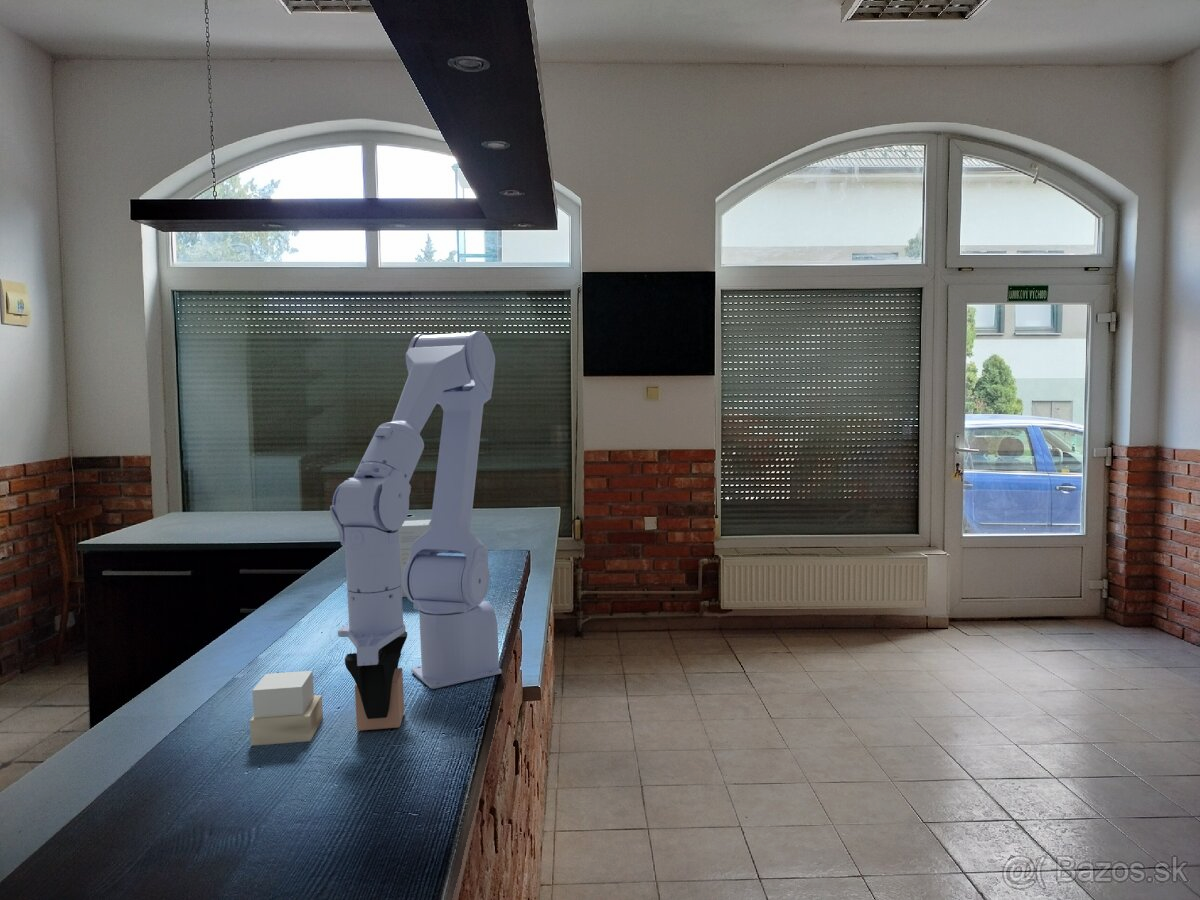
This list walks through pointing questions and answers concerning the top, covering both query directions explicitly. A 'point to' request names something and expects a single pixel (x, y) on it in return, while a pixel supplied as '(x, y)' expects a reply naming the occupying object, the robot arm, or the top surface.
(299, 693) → the tower top slab
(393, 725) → the terracotta block
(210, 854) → the top surface
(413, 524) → the small box
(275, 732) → the tower base slab
